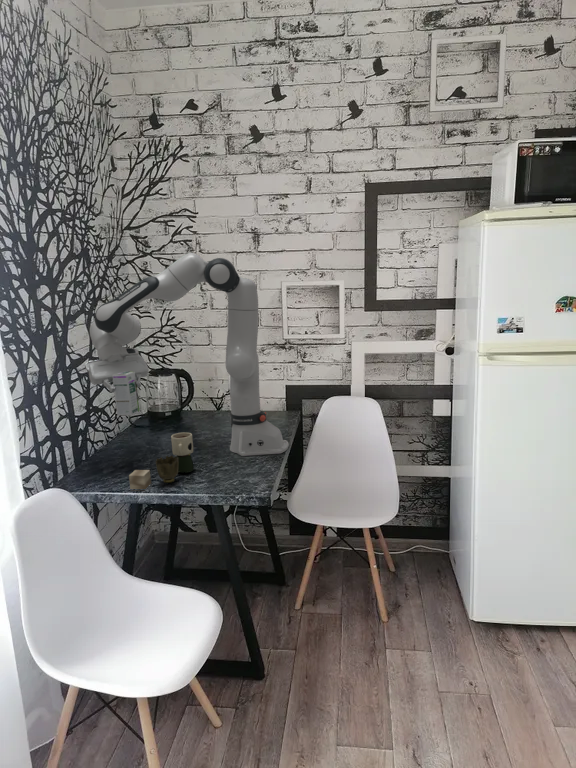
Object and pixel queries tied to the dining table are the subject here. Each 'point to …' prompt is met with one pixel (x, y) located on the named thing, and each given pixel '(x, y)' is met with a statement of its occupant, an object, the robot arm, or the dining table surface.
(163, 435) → the dining table surface
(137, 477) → the birch block
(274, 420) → the dining table surface
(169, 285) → the robot arm
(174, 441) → the character mug
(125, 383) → the syrup box
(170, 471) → the cup
